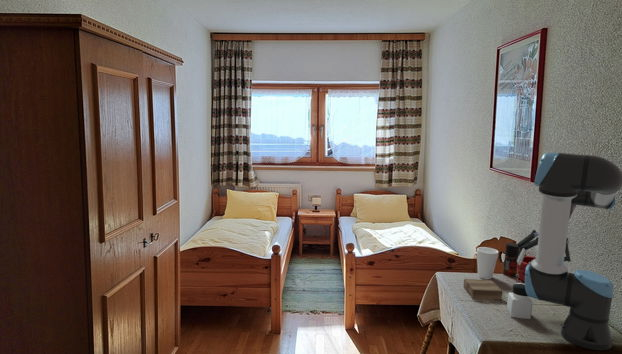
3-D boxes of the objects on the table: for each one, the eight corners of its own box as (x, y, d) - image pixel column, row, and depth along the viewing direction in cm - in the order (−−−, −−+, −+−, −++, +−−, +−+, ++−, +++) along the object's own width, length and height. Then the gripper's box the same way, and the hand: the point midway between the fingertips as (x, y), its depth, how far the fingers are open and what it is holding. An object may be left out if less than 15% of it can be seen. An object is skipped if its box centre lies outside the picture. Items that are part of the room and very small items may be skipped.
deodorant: (501, 274, 215) (504, 244, 213) (504, 271, 220) (507, 242, 218) (514, 277, 212) (518, 247, 210) (517, 274, 217) (520, 244, 214)
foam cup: (473, 272, 217) (475, 246, 215) (493, 274, 216) (496, 248, 214) (476, 279, 208) (479, 252, 206) (497, 281, 206) (500, 254, 204)
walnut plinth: (501, 300, 185) (502, 291, 185) (472, 298, 186) (473, 289, 185) (490, 288, 197) (491, 280, 197) (463, 287, 197) (464, 278, 197)
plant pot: (513, 287, 200) (516, 261, 199) (517, 278, 212) (520, 253, 210) (546, 294, 194) (549, 267, 192) (548, 284, 205) (551, 259, 203)
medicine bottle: (530, 319, 169) (534, 289, 167) (510, 317, 170) (514, 287, 168) (525, 311, 176) (529, 282, 174) (506, 309, 177) (509, 280, 175)
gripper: (590, 238, 178) (571, 282, 171) (526, 224, 196) (507, 263, 189) (587, 227, 173) (567, 272, 166) (522, 214, 192) (502, 254, 185)
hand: (535, 268), depth 178 cm, fingers open, 13 cm apart
